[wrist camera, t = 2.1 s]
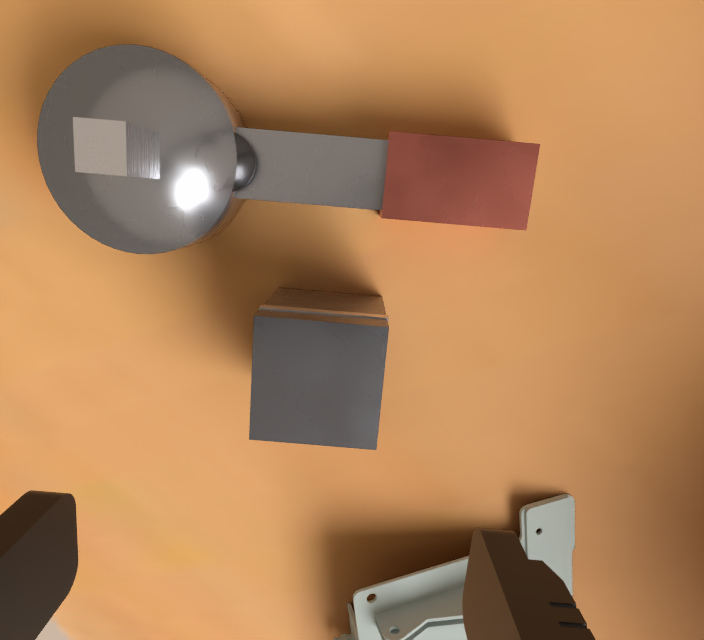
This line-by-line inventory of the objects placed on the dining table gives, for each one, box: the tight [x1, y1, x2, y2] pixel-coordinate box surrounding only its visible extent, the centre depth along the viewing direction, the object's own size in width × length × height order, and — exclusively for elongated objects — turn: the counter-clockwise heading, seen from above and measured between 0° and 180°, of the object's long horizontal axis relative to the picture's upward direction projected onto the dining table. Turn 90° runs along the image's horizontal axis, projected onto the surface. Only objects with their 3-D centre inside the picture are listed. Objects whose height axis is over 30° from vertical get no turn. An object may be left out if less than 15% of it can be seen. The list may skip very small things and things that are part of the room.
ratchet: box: [37, 45, 540, 254], centre depth 20 cm, size 20×8×6 cm, turn 85°
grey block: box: [249, 288, 389, 450], centre depth 22 cm, size 5×5×6 cm
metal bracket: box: [334, 494, 575, 640], centre depth 28 cm, size 14×6×15 cm
